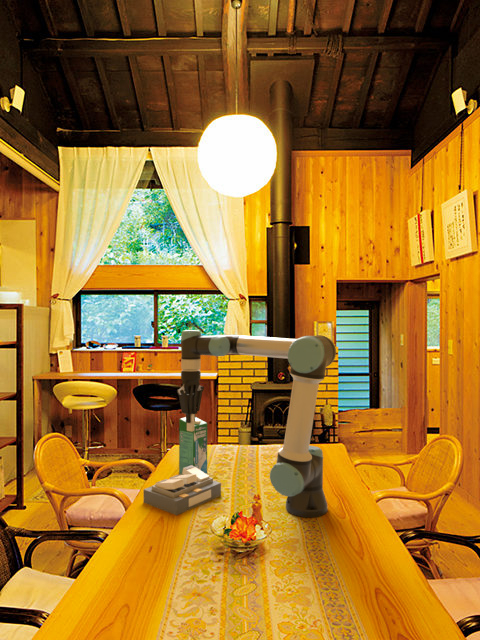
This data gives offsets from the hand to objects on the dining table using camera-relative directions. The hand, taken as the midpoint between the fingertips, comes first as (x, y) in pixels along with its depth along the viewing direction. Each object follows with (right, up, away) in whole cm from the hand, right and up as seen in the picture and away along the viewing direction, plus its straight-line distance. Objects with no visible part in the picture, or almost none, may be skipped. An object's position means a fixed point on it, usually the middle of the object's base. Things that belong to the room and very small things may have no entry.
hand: (190, 430), depth 181 cm
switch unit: (-3, -26, 0) cm, 27 cm away
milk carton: (-2, -27, +30) cm, 40 cm away
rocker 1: (-7, -20, -6) cm, 22 cm away
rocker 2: (-3, -20, 0) cm, 20 cm away
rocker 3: (+1, -20, +5) cm, 21 cm away
